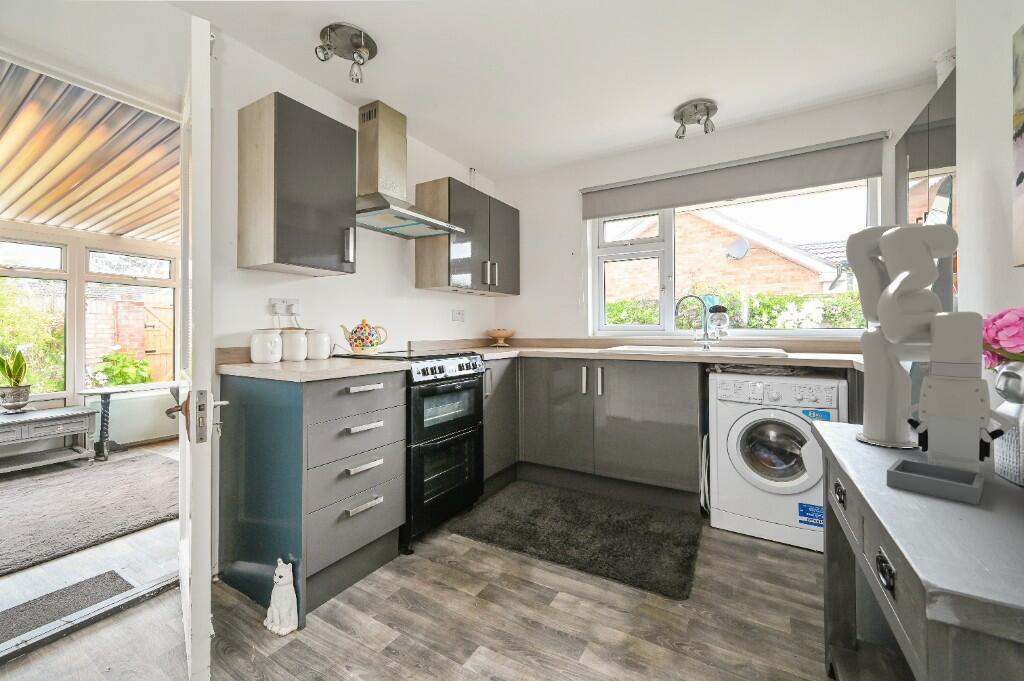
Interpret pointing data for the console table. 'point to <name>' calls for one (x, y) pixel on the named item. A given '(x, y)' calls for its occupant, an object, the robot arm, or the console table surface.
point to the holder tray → (936, 480)
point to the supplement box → (953, 443)
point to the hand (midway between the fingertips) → (952, 454)
